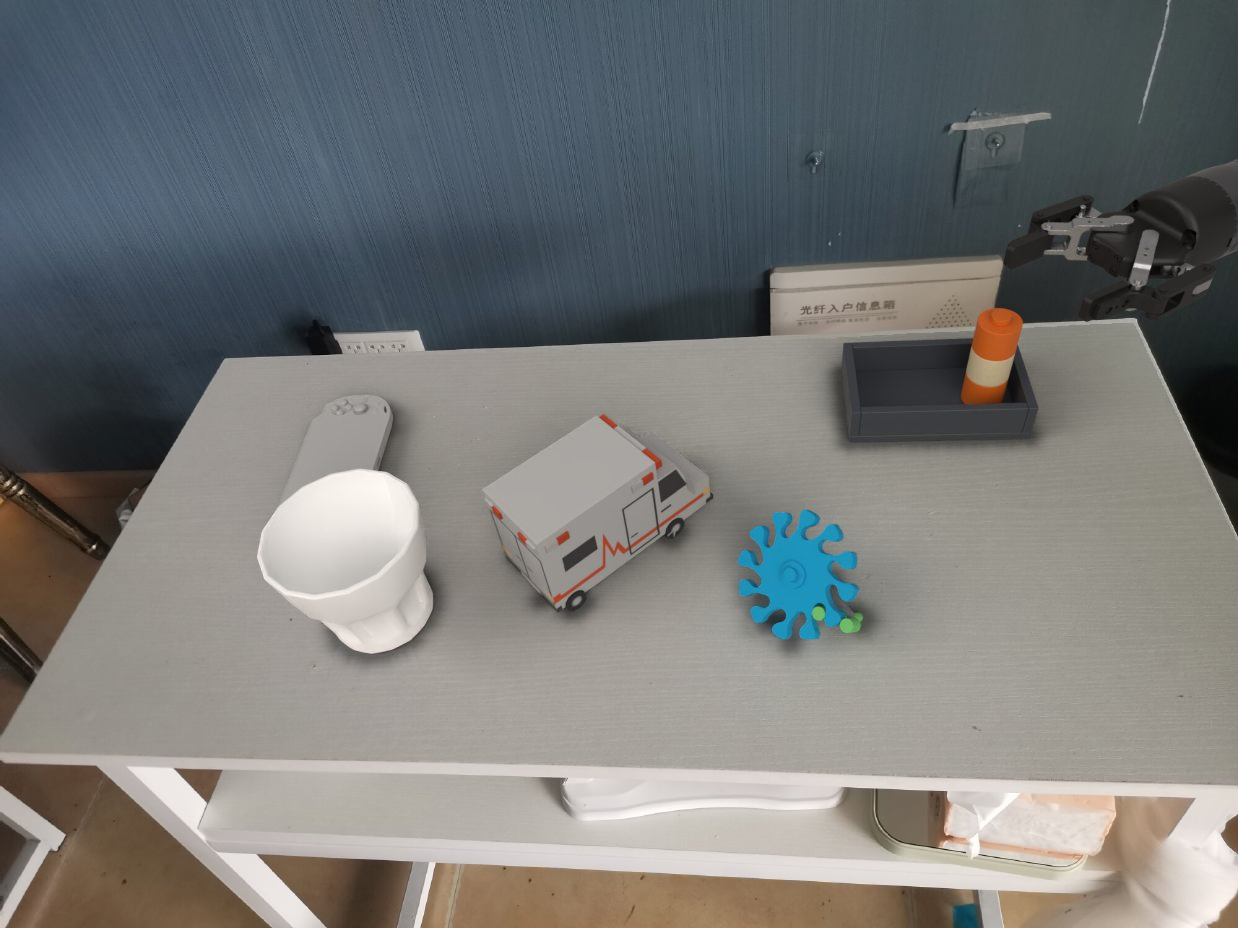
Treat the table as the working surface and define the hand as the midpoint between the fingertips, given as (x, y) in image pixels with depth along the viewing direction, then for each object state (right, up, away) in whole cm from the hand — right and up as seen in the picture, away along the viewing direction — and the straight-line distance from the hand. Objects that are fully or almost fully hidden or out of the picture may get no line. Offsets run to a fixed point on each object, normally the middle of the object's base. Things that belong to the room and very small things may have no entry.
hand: (1044, 283), depth 72 cm
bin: (-5, -9, +11) cm, 15 cm away
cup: (-54, -27, +3) cm, 61 cm away
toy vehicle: (-35, -21, +5) cm, 41 cm away
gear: (-20, -26, -2) cm, 33 cm away
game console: (-61, -16, +15) cm, 65 cm away
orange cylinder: (-1, -9, +10) cm, 13 cm away
